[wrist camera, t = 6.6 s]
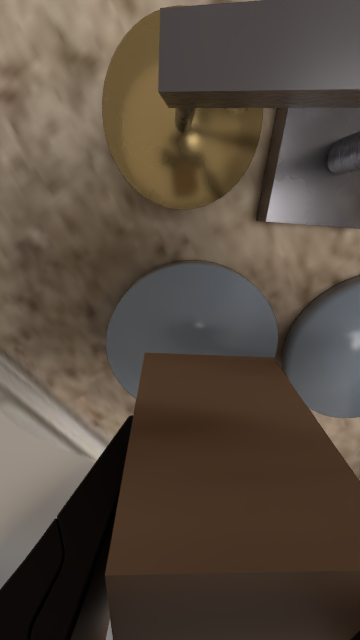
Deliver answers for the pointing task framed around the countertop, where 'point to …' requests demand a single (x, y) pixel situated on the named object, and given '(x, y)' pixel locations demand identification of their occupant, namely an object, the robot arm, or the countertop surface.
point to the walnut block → (231, 510)
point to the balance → (241, 106)
